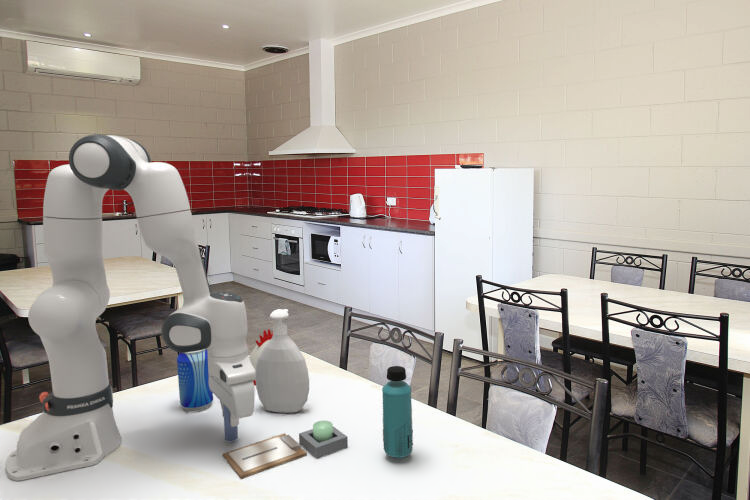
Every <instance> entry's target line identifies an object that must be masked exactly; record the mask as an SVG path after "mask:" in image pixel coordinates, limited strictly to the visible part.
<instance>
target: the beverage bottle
mask: <svg viewBox="0 0 750 500" xmlns="http://www.w3.org/2000/svg"><path fill="white" fill-rule="evenodd" d="M386 379H387V380H388V382H386V384H384V385H383V386H382V388H381V391H382V442H383V451H384V453H385V454H386V455H387V456H389V457H392V458H405V457H408V456H410V455H411V454H412V452H413V446H414V439H413V438H414V436H413V433H414V430H413V412H412V411H413V405H412V386H410V384H408V383H407V382H406V381H405V380H406V379H407V373H406V368H405V367H403V366H400V365H392V366H390V367H388V368H387V369H386Z"/></svg>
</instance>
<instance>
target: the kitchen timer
mask: <svg viewBox="0 0 750 500" xmlns="http://www.w3.org/2000/svg"><path fill="white" fill-rule="evenodd" d="M272 336H273V330H272V331H271V329H269V328H268V329H267V331H266V330H264V329H263V335H261V334H259V335H258V337H259V340H260V341H259V340H257V339H255V343H256V345H255V347H254V348H253V350H252V351H251V353H250V354H249V358H250V362H251V364H252V366H253V367H254V369H255V371H256V366H257V361H258V357H259V355H260V353H261V352H262V350H263V349H264V347H265V346H266V344H267V343H268V342H269V341H270V340H271V339H272ZM253 383H254V387H256V379H253Z"/></svg>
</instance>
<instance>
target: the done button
mask: <svg viewBox="0 0 750 500" xmlns="http://www.w3.org/2000/svg"><path fill="white" fill-rule="evenodd" d="M333 427H334V426H333V423H332V421H329V420H319V421H316V422H314V423H313V425H312V429H313V439H315V440H316V441H317V442H318V443H320V442H323V441H326V440H328V439H331V438H333Z"/></svg>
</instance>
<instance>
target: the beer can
mask: <svg viewBox="0 0 750 500" xmlns="http://www.w3.org/2000/svg"><path fill="white" fill-rule="evenodd" d="M178 353H179V354H178V356H177V358H176V365H177V366H176V367H177V381H178V391H179V392H178V393H179V403H180V404H179V405H180V407H182V408H183V410H184V411H186V412H199V411H200V412H201V411H203V410H206V409H208V408H209V407H210V406H211V403H213V401H214V394H213V393H212V391H210V388H209V373H208V351H207V350H206V349H203V350H199V351H193V352H186V353H180V352H178Z"/></svg>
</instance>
